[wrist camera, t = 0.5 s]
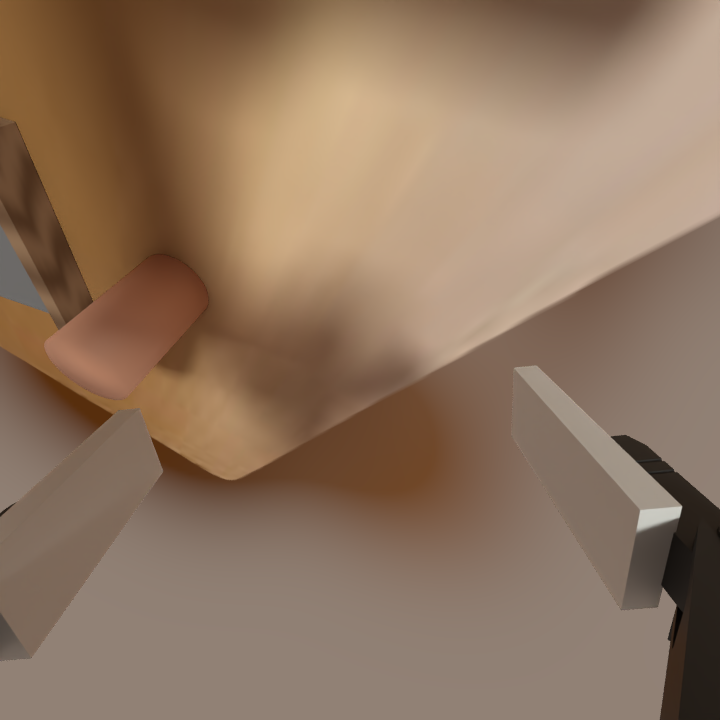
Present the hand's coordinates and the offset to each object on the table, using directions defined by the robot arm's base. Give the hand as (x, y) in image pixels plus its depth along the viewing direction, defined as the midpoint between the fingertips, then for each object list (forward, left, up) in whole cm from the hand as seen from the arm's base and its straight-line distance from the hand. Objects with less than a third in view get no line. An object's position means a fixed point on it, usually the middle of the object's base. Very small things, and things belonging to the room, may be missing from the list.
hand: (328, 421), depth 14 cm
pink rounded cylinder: (+16, -21, -19) cm, 32 cm away
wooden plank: (+17, -34, -19) cm, 42 cm away
